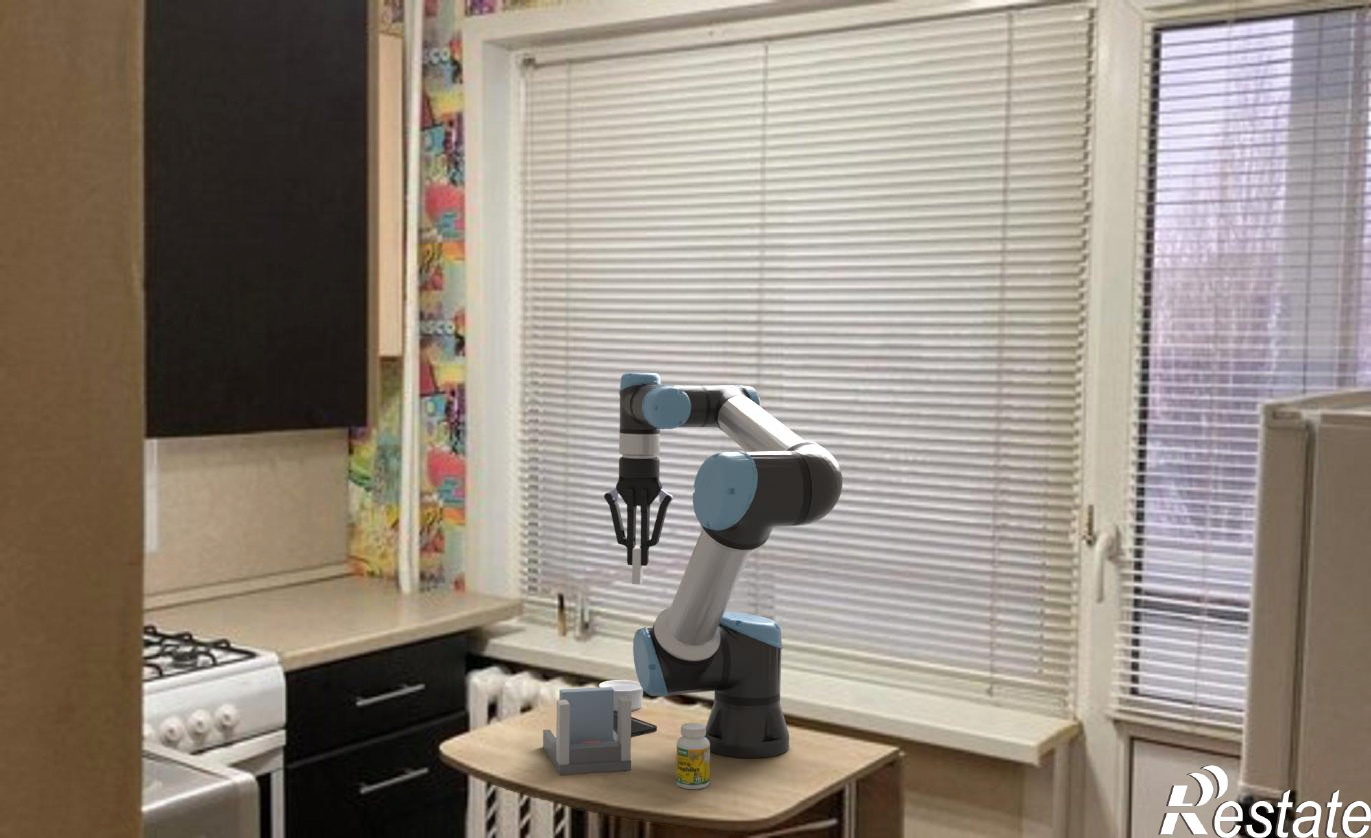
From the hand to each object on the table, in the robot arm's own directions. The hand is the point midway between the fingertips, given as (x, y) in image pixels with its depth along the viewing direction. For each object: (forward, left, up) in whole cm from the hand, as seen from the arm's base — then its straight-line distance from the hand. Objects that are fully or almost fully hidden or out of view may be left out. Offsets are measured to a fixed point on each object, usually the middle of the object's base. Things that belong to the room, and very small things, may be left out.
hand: (637, 582), depth 254 cm
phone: (+3, +2, -27) cm, 27 cm away
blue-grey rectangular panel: (+4, +23, -25) cm, 34 cm away
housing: (+4, +23, -26) cm, 35 cm away
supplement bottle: (-16, +33, -27) cm, 45 cm away
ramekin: (+5, -11, -27) cm, 29 cm away
